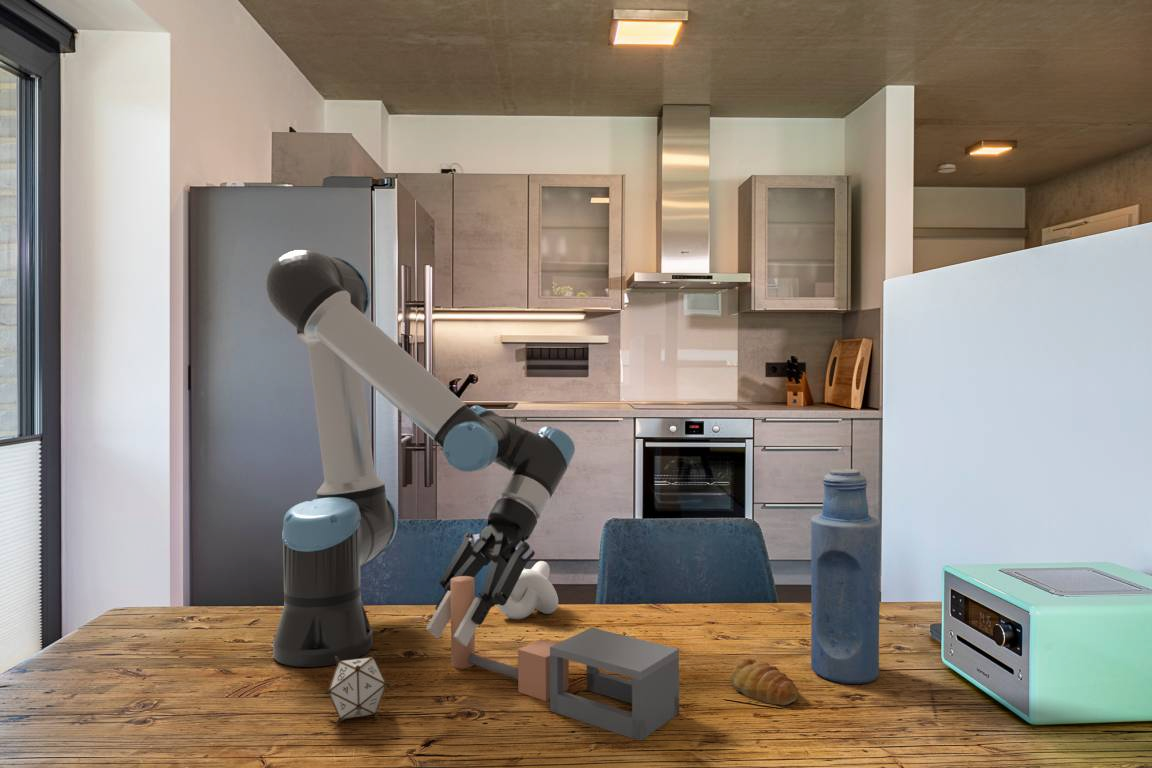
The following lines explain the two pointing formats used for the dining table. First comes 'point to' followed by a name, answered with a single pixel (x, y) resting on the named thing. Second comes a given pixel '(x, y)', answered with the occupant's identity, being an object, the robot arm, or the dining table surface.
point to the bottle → (845, 582)
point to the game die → (356, 687)
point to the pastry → (763, 682)
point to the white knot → (531, 593)
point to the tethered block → (530, 662)
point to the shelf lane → (618, 681)
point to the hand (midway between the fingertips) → (446, 636)
